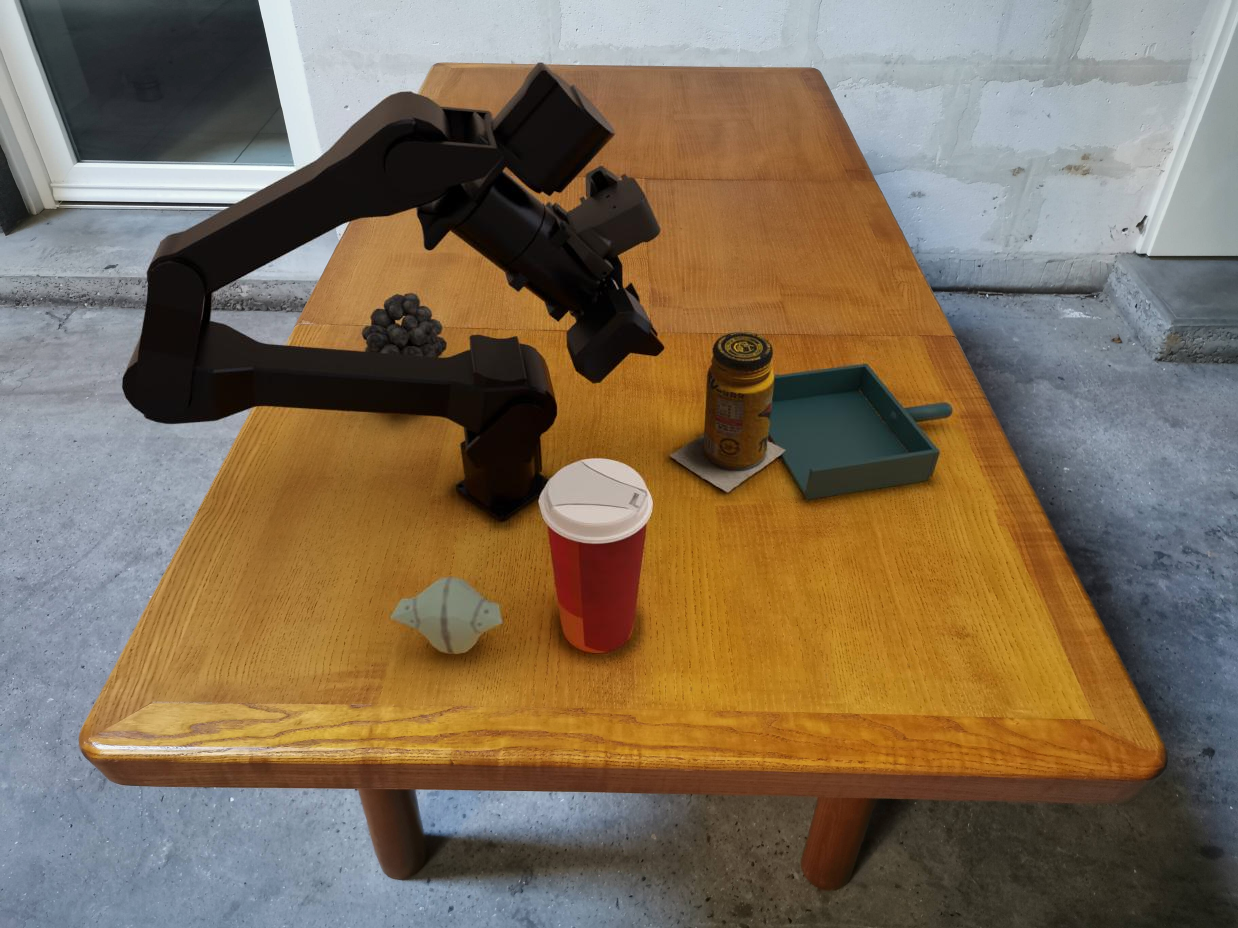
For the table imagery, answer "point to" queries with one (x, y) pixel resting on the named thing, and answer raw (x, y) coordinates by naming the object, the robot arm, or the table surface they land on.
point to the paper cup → (596, 549)
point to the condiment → (735, 413)
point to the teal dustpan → (849, 432)
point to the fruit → (404, 329)
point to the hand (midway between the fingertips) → (657, 344)
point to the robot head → (449, 615)
